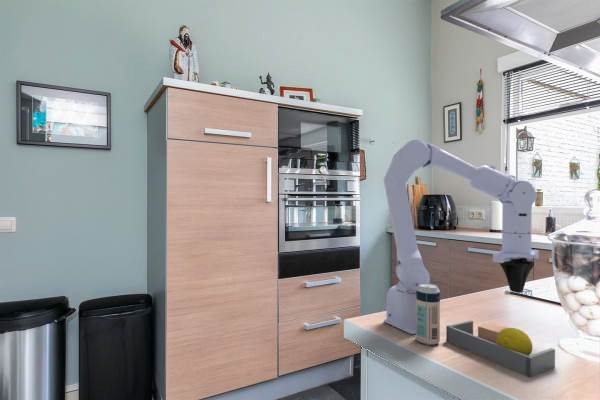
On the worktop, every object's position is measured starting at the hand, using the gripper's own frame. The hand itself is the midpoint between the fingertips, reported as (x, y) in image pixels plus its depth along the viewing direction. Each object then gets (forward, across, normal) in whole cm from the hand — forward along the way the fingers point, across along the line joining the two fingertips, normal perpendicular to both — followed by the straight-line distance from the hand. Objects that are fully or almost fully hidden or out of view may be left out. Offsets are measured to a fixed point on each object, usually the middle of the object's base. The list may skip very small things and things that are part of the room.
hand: (516, 291), depth 79 cm
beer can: (+10, -23, +5) cm, 25 cm away
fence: (+9, -15, -5) cm, 18 cm away
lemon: (+8, -10, -7) cm, 15 cm away
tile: (+10, -7, 0) cm, 12 cm away
